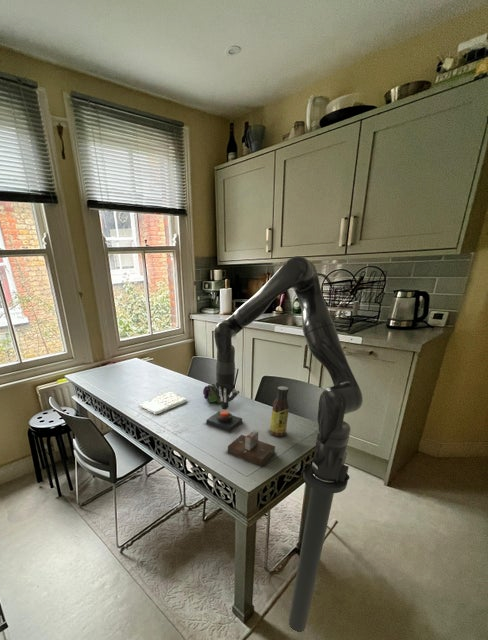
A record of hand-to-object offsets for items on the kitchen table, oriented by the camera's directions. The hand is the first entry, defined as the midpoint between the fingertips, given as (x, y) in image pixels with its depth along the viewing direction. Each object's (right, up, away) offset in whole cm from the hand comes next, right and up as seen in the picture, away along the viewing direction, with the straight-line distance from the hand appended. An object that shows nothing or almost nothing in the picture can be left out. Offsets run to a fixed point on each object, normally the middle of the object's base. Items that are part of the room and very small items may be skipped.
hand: (224, 408), depth 134 cm
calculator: (-28, +2, +22) cm, 36 cm away
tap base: (+8, -16, -18) cm, 25 cm away
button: (0, -3, +1) cm, 3 cm away
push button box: (0, -6, +3) cm, 7 cm away
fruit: (-3, +3, +24) cm, 24 cm away
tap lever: (+8, -13, -19) cm, 24 cm away
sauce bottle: (+21, -10, -5) cm, 24 cm away
